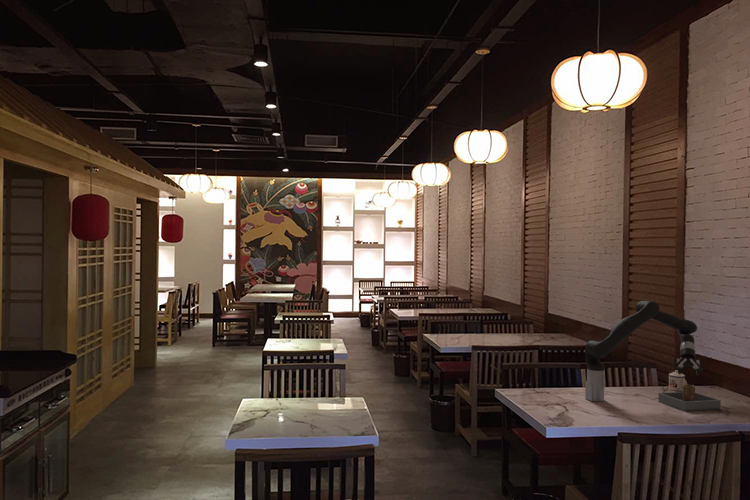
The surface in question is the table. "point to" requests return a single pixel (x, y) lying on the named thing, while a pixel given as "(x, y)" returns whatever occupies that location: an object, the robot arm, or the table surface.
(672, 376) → the teacup with lid
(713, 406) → the grey tray
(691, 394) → the walnut crate
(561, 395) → the table surface
